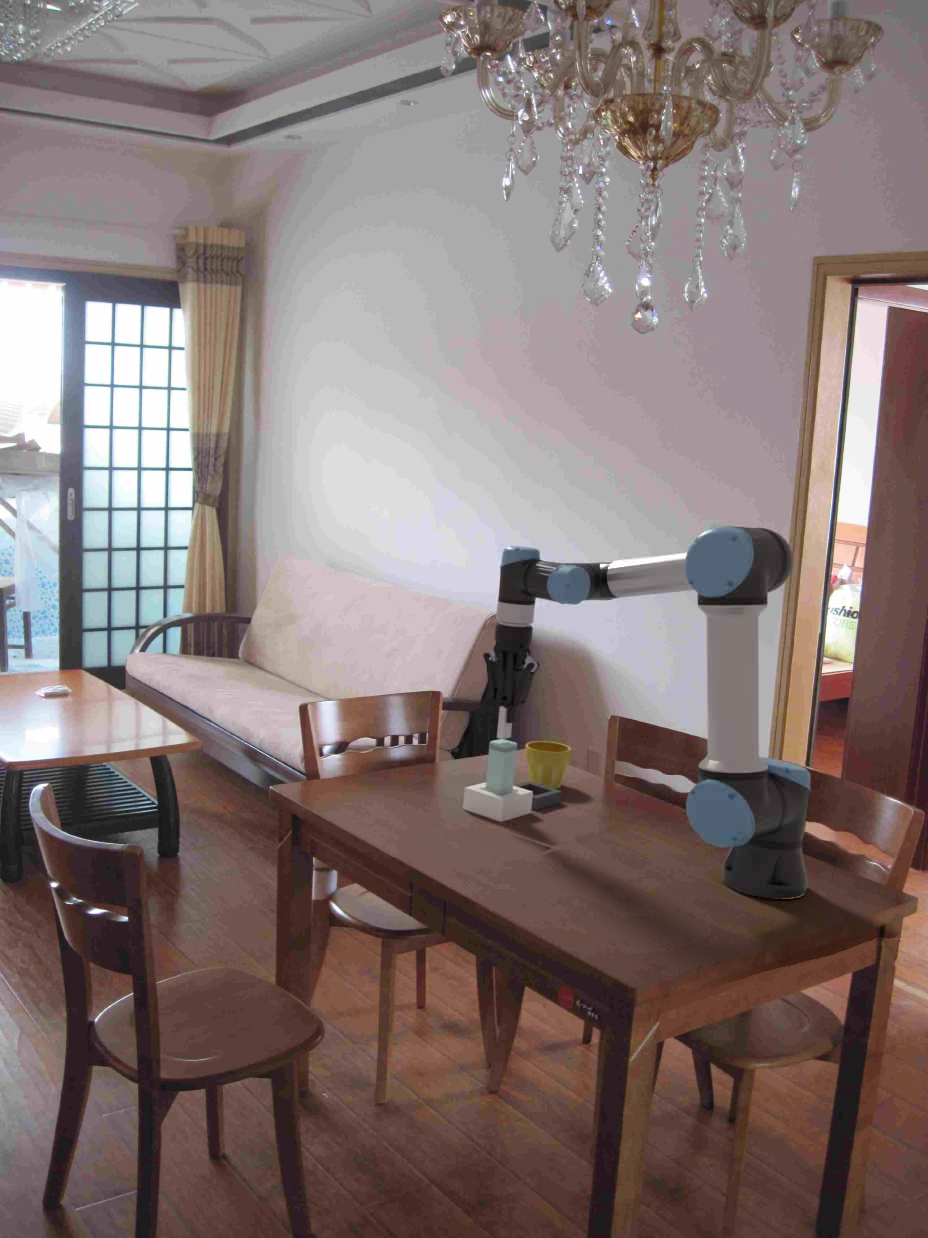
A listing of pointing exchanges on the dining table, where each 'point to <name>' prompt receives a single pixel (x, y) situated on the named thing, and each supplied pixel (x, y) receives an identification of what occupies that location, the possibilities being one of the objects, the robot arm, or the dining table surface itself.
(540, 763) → the plant pot
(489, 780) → the plug
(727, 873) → the robot arm
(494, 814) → the box
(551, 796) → the dark grey square tray
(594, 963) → the dining table surface
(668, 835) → the dining table surface
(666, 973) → the dining table surface
